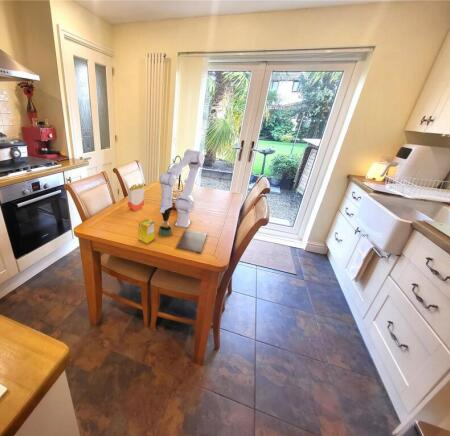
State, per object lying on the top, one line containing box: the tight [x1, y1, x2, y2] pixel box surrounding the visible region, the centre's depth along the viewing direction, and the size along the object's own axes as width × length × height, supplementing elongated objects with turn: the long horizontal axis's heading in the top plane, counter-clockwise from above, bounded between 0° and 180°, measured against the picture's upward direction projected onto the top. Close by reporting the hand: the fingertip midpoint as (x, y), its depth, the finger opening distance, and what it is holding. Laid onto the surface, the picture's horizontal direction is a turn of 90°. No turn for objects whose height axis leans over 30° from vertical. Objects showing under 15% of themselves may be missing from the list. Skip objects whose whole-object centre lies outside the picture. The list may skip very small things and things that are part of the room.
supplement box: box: [138, 218, 156, 245], centre depth 121 cm, size 6×6×11 cm
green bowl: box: [158, 225, 173, 238], centre depth 129 cm, size 7×7×4 cm
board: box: [176, 229, 208, 255], centre depth 124 cm, size 20×12×1 cm, turn 162°
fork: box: [161, 220, 170, 230], centre depth 127 cm, size 2×3×9 cm
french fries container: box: [127, 183, 145, 211], centre depth 158 cm, size 5×11×18 cm, turn 137°
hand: (165, 220), depth 126 cm, fingers closed on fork, 1 cm apart
